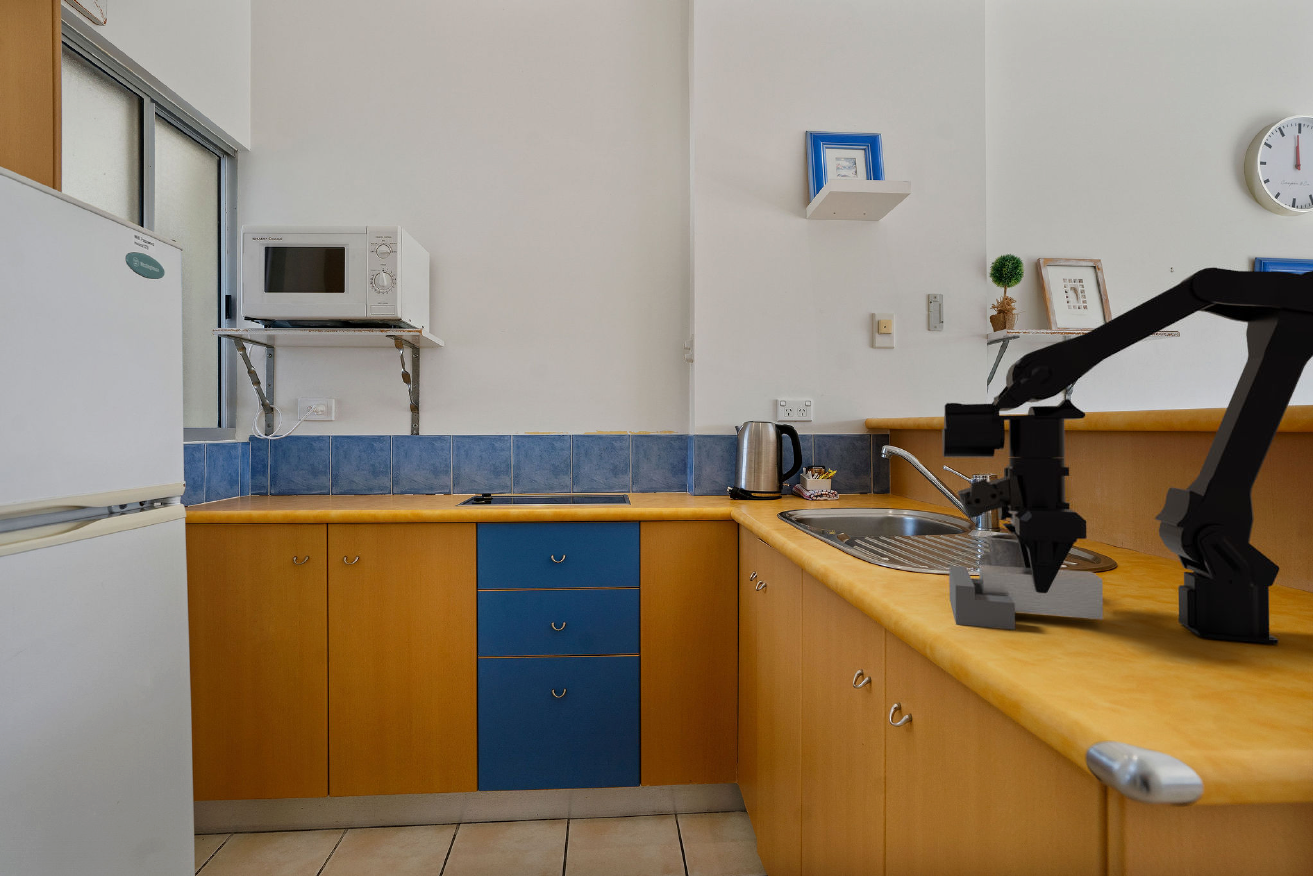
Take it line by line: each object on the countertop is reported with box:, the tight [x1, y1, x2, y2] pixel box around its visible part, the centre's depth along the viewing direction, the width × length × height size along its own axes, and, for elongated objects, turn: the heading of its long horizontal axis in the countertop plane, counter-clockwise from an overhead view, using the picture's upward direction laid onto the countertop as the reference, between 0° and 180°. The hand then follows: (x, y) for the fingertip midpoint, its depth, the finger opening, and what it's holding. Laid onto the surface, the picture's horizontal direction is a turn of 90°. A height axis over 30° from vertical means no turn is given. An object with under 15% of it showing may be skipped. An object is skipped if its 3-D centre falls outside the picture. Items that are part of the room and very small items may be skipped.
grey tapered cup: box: [977, 533, 1025, 568], centre depth 91 cm, size 6×13×8 cm, turn 174°
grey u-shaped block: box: [948, 565, 1016, 630], centre depth 78 cm, size 6×12×4 cm, turn 158°
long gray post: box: [978, 565, 1104, 620], centre depth 75 cm, size 12×4×4 cm, turn 68°
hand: (1037, 588), depth 75 cm, fingers closed on long gray post, 4 cm apart
